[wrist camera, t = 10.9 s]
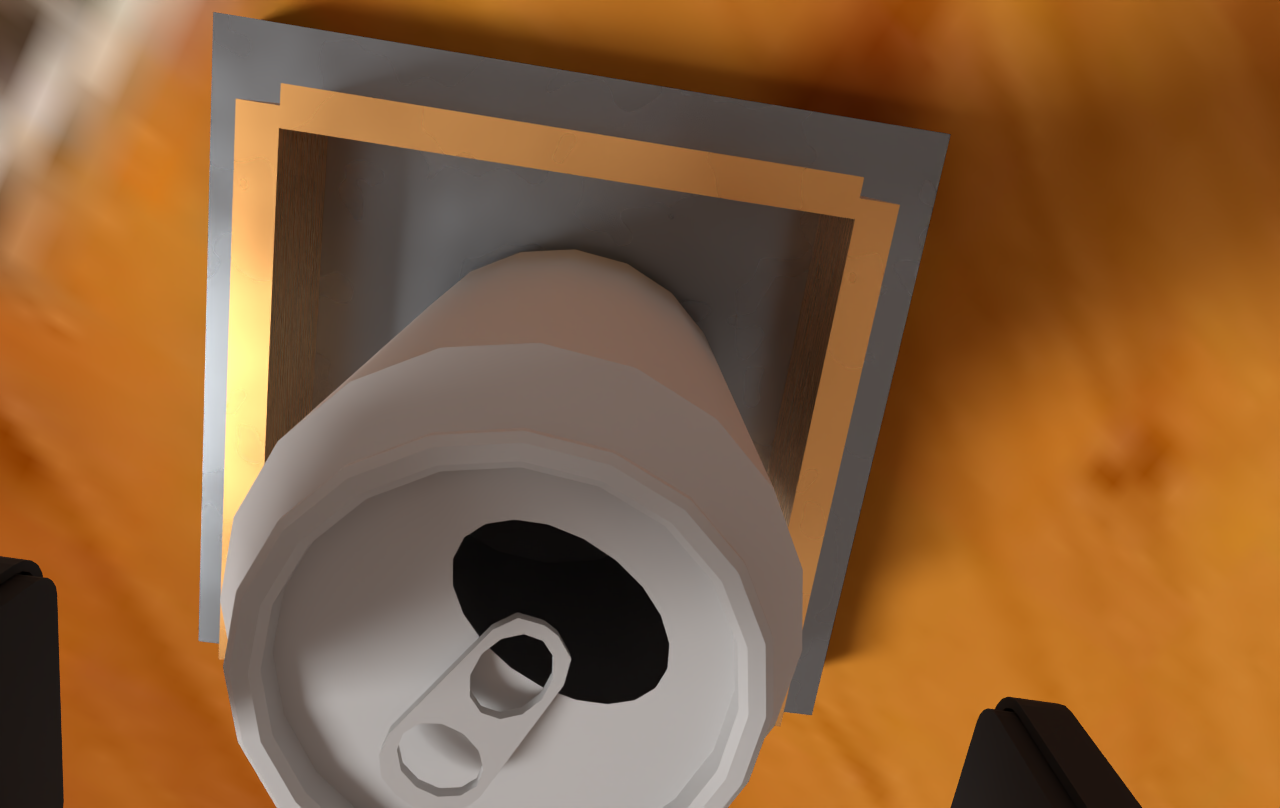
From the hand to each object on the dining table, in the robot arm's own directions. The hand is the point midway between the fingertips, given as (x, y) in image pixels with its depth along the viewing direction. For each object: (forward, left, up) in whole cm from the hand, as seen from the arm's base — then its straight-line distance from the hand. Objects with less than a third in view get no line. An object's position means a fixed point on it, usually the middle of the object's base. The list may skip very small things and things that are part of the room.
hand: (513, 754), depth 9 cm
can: (0, 0, -13) cm, 13 cm away
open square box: (+1, 0, -15) cm, 15 cm away
